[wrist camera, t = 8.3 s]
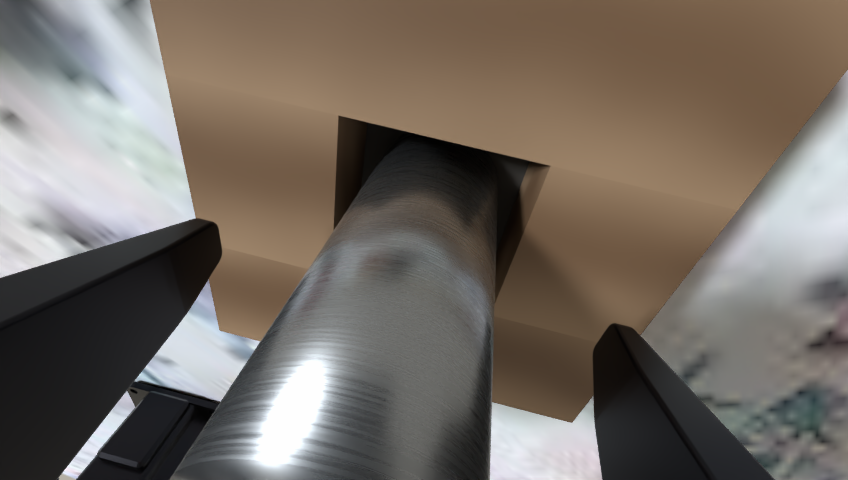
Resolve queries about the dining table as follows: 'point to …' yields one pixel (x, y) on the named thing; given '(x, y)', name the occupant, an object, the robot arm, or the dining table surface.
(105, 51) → the dining table surface
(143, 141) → the dining table surface
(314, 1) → the walnut block
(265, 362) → the metal pin
